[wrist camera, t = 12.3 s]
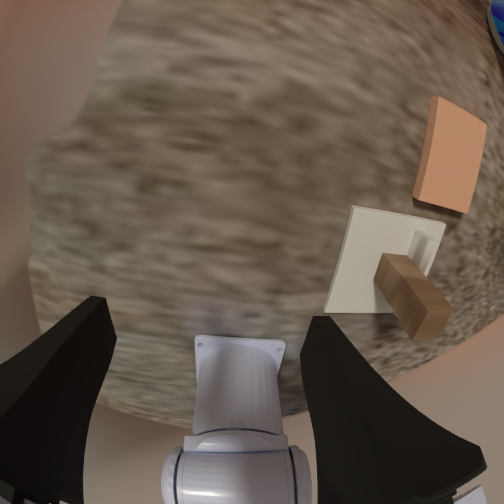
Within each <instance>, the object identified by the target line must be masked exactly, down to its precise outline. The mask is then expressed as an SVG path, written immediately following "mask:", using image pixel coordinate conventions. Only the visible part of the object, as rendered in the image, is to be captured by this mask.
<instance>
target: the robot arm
mask: <svg viewBox="0 0 504 504" xmlns="http://www.w3.org/2000/svg"><path fill="white" fill-rule="evenodd" d="M116 340H117V337H116V334H115V330H114V327H113V324H112V320H111V316H110V313H109V309H108V305H107V301H106V298H103V297H97V296H90V297H89V298H87V299H86V300H85V301H83V302H82V303H81V304H80V305H78V306H77V307H76V308H75V309H73V310H72V311H71V312H70V313H69V314H67V315H66V316H65V317H64V318H62V319H61V320H60V321H59V322H58V323H56V324H55V325H54V326H53V327H52V328H50V329H49V330H48V331H47V332H45V333H44V334H43V335H41V336H40V337H39V338H38V339H36V340H35V341H34V342H33V343H31V344H30V345H29V346H27V347H26V348H25V349H23V350H22V351H20V352H19V353H18V354H16V355H15V356H13V357H12V358H10V359H9V360H7V361H5V362H4V363H2V364H1V365H0V504H49V503H51V504H59V502H60V500H61V501H64V502H66V503H69V504H84V499H83V466H84V453H85V446H86V439H87V433H88V428H89V422H90V418H91V414H92V411H93V408H94V405H95V402H96V400H97V397H98V394H99V391H100V389H101V386H102V383H103V381H104V378H105V376H106V373H107V370H108V368H109V365H110V362H111V359H112V355H113V352H114V348H115V344H116ZM199 343H202V344H199ZM278 348H280V349H278ZM285 348H286V342H285V341H284V340H276V339H253V338H236V337H223V336H211V335H197V336H196V337H195V357H196V375H197V392H196V401H195V409H194V418H193V427H192V436H185V440H184V447H181V446H178V447H176V448H174V449H173V451H172V452H171V453H169V455H168V456H167V457H166V460H165V462H164V466H163V470H162V478H161V489H162V496H163V500H164V503H165V504H311V503H312V482H311V473H310V468H309V463H308V459H307V456H306V454H305V453H304V452H303V451H302V450H301V449H299V447H297V446H296V445H294V446H289V447H288V438H287V435H283V426H282V417H281V408H280V399H279V390H278V381H277V375H278V372H279V369H280V365H281V362H282V359H283V355H284V352H285ZM300 361H301V373H302V381H303V386H304V390H305V395H306V400H307V404H308V409H309V413H310V417H311V422H312V427H313V432H314V438H315V447H316V460H317V480H318V504H487V502H486V498H485V495H484V491H483V488H482V485H478V486H476V487H475V488H473V489H471V490H469V491H467V492H465V493H464V494H462V495H460V496H458V497H456V498H453V499H452V496H454V495H456V493H457V491H456V489H457V488H459V487H461V486H462V485H464V484H465V483H467V482H469V481H470V480H472V479H473V478H475V477H476V476H478V475H479V474H481V473H482V472H483V471H485V470H486V468H487V465H486V462H485V459H484V456H483V454H482V451H481V449H480V446H478V445H476V444H473V443H471V442H469V441H466V440H465V439H463V438H460V437H458V436H457V435H455V434H452V433H451V432H450V431H448V430H446V429H444V428H443V427H441V426H439V425H438V424H436V423H435V422H433V421H432V420H431V419H429V418H428V417H426V416H425V415H424V414H422V413H421V412H419V411H418V410H417V409H416V408H414V407H413V406H412V405H411V404H409V403H408V402H407V401H406V400H405V399H404V398H403V397H401V396H400V395H399V394H398V393H397V392H396V391H395V390H394V389H393V388H392V387H391V386H390V385H389V384H388V383H387V382H386V381H385V380H384V379H383V378H382V377H381V376H380V375H379V374H378V373H377V372H376V371H375V370H374V369H373V368H372V367H371V365H370V364H369V363H368V362H367V361H366V360H365V359H364V357H363V356H362V355H361V354H360V353H359V352H358V350H357V349H356V348H355V347H354V346H353V344H352V343H351V342H350V341H349V339H348V338H347V337H346V336H345V334H344V333H343V332H342V331H341V329H340V328H339V327H338V326H337V324H336V323H335V322H334V321H333V320H332V318H331V317H330V316H313V318H312V321H311V324H310V327H309V330H308V333H307V336H306V339H305V341H304V344H303V347H302V350H301V353H300Z"/></svg>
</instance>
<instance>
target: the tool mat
mask: <svg viewBox="0 0 504 504" xmlns="http://www.w3.org/2000/svg"><path fill="white" fill-rule="evenodd" d="M445 227H446V224H445V223H443V222H440V221H436V220H431V219H426V218H421V217H416V216H411V215H406V214H400V213H395V212H389V211H384V210H378V209H372V208H366V207H360V206H353V205H352V207H351V211H350V215H349V220H348V224H347V228H346V232H345V236H344V239H343V243H342V247H341V251H340V254H339V258H338V261H337V265H336V269H335V272H334V275H333V279H332V282H331V285H330V289H329V292H328V295H327V298H326V302H325V305H324V308H323V310H324V313H394V312H393V311H392V309H391V308H390V306H389V304H388V301H387V300H386V298H385V297H384V295H383V294H382V292H381V291H380V289H379V287H378V286H377V284H376V283H375V281H374V280H373V279H374V276H375V273H376V270H377V267H378V264H379V262H380V259H381V256H382V253H389V254H399V255H407V252H408V249H409V246H410V243H411V241H412V238H413V234H414V231H415V229H419V230H423V231H424V232H426V233H427V234H428V235H429V236H430V237H432V238H433V239H434V240H435V241H436V244H435V246H434V249H433V252H432V254H431V257H430V260H429V262H428V265H427V267H426V270H425V272H424V275H425V276H426V277H427V275H428V272H429V270H430V267H431V265H432V262H433V260H434V257H435V255H436V252H437V249H438V247H439V244H440V241H441V238H442V236H443V233H444V230H445Z"/></svg>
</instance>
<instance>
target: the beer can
mask: <svg viewBox="0 0 504 504" xmlns="http://www.w3.org/2000/svg"><path fill="white" fill-rule="evenodd" d="M487 18H488V23H489V26H490V29H491V32H492V34H493V37H494V39H495V41H496V43H497V45H498V47H499V48H500V50H501V51H502V53H503V54H504V0H491V2H490V5H489V6H488V9H487Z"/></svg>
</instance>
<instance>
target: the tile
mask: <svg viewBox="0 0 504 504" xmlns="http://www.w3.org/2000/svg"><path fill="white" fill-rule="evenodd" d="M486 129H487V124H485V123H484V122H482V121H481V120H479V119H478V118H476V117H474V116H473V115H471V114H470V113H468V112H466V111H465V110H463V109H461V108H459V107H458V106H456V105H454V104H452V103H451V102H449V101H447V100H445V99H443V98H441V97H439V96H431V104H430V112H429V119H428V125H427V131H426V137H425V142H424V147H423V152H422V157H421V162H420V166H419V171H418V175H417V179H416V183H415V187H414V191H413V195H412V196H413V197H414V198H416V199H417V200H420V201H424V202H428V203H431V204H435V205H439V206H442V207H446V208H449V209H453V210H456V211H459V212H463V213H466V214H467V213H468V210H469V207H470V203H471V200H472V196H473V193H474V189H475V185H476V181H477V177H478V173H479V168H480V163H481V159H482V153H483V148H484V142H485V136H486Z"/></svg>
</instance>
